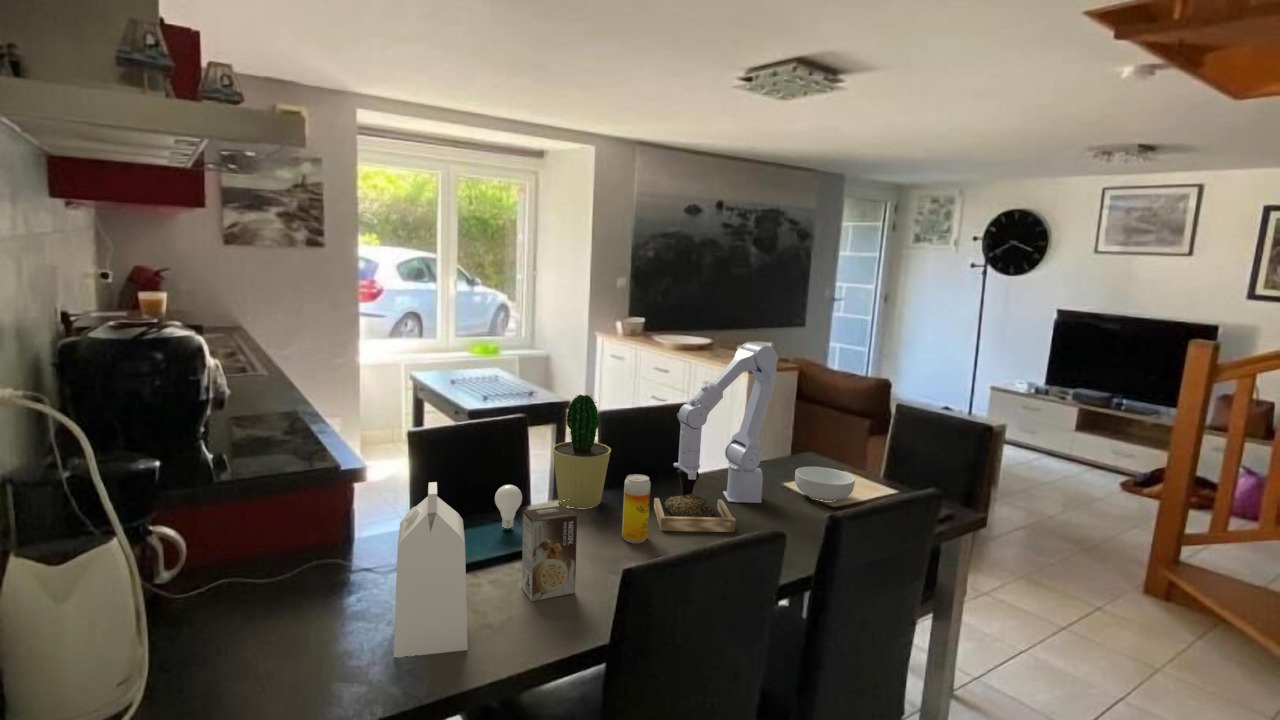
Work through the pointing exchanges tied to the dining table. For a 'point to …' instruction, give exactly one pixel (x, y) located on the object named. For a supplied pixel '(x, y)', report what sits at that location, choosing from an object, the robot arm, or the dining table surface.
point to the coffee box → (549, 552)
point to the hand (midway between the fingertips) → (686, 496)
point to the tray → (696, 520)
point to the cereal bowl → (824, 483)
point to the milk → (430, 580)
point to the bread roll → (688, 506)
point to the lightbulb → (508, 503)
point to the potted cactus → (581, 457)
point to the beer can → (636, 508)
